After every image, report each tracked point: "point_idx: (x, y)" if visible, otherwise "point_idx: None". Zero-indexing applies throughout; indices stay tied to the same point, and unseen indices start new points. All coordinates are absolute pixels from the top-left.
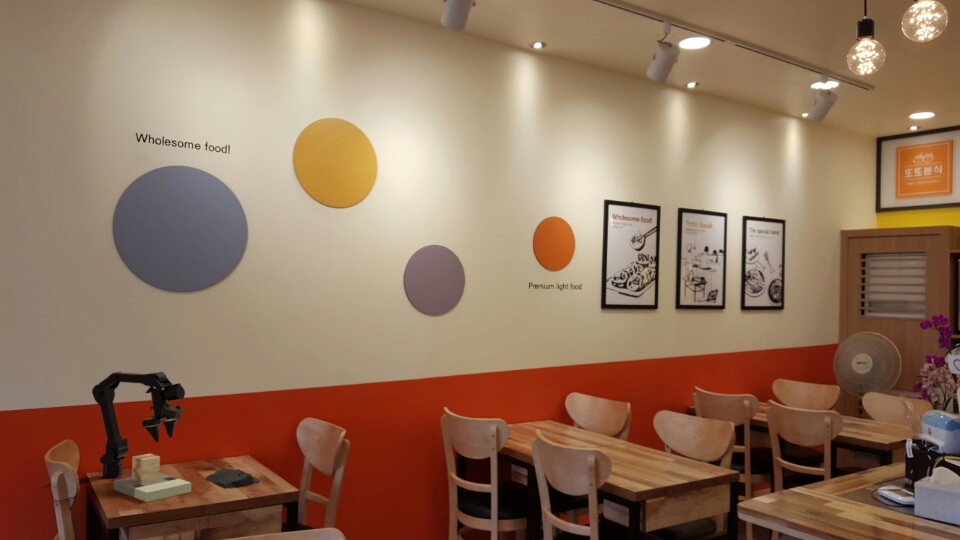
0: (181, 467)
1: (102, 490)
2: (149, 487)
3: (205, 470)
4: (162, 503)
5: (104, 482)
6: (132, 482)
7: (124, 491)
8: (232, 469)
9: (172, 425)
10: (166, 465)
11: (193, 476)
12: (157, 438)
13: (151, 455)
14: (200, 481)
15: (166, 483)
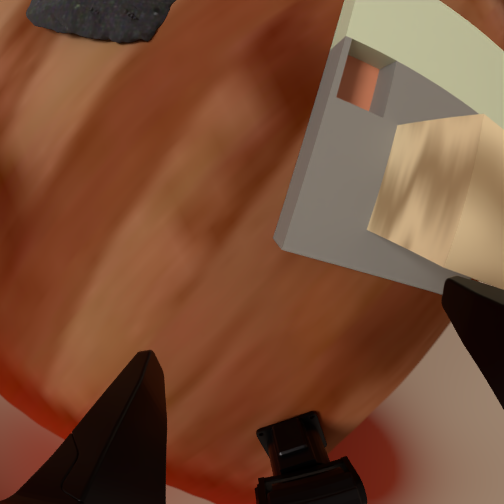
0: (44, 317)
1: None
2: (486, 86)
3: (22, 172)
4: (477, 14)
5: (370, 394)
6: None
7: None
8: (29, 7)
9: (87, 499)
10: (67, 391)
11: (126, 129)
12: (492, 291)
13: (481, 202)
14: (194, 28)
15: (428, 48)
